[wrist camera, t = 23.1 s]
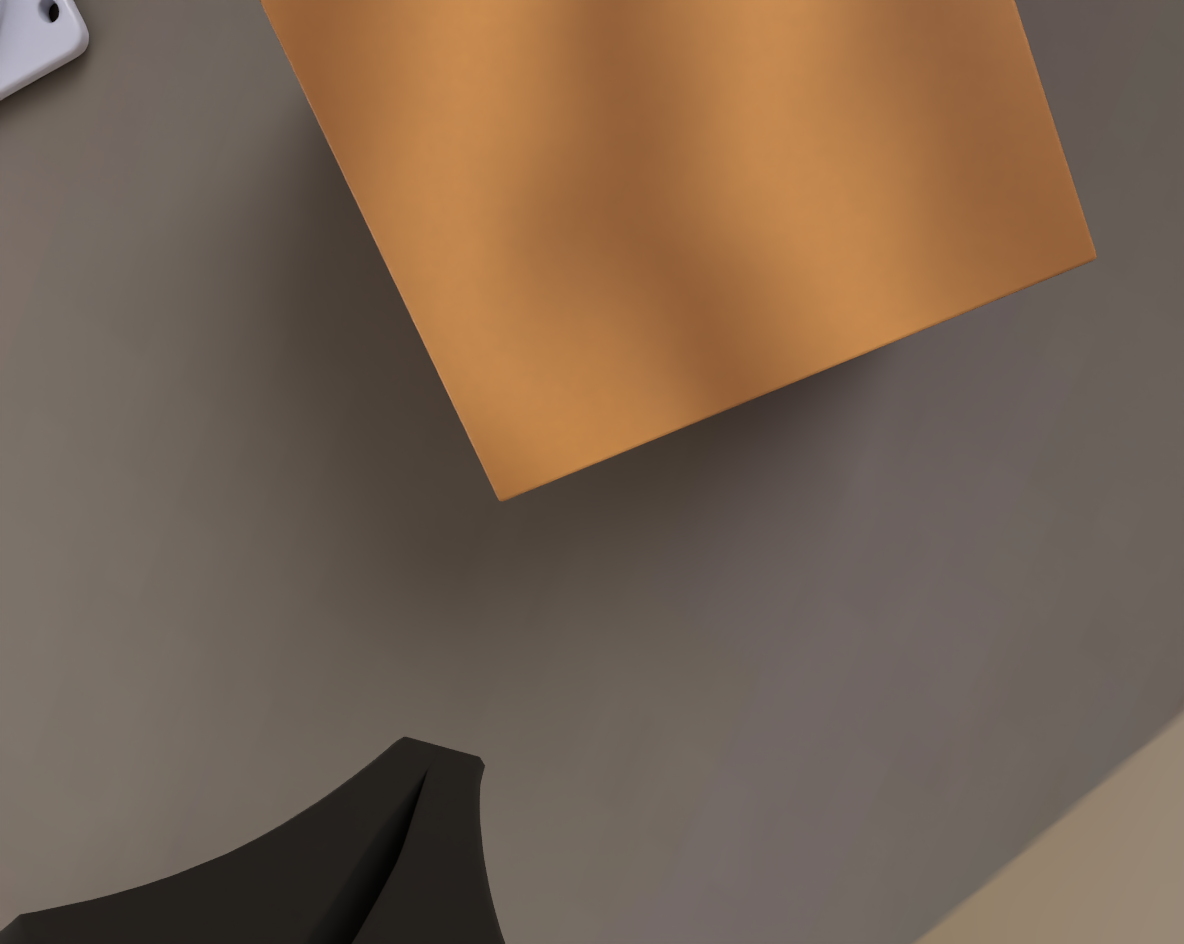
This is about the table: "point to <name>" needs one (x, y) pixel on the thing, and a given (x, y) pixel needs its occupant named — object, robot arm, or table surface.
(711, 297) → the case lid
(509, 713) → the table surface
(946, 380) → the table surface
